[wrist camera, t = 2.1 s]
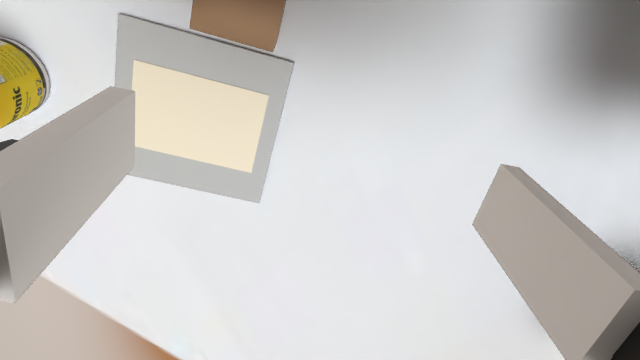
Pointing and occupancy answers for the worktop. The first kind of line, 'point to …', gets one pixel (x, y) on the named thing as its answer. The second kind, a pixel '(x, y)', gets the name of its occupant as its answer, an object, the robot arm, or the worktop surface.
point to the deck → (240, 20)
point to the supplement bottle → (20, 82)
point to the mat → (200, 108)
